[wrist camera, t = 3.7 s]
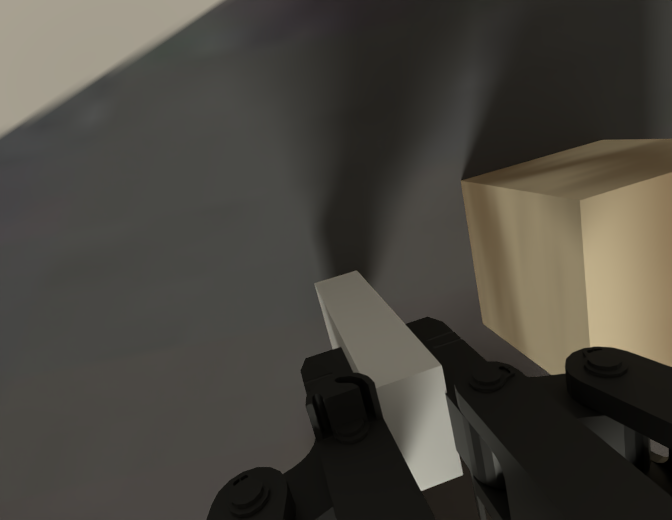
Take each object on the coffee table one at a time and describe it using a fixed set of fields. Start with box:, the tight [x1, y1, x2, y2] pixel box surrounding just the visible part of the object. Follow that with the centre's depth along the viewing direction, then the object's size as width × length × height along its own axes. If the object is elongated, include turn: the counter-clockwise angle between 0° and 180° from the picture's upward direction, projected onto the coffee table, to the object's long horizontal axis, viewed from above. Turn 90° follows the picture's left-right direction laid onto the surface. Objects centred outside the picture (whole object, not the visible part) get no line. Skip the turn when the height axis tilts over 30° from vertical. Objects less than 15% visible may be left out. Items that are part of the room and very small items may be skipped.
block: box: [461, 139, 672, 375], centre depth 14 cm, size 6×6×6 cm
